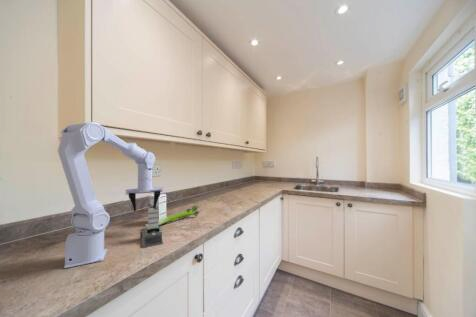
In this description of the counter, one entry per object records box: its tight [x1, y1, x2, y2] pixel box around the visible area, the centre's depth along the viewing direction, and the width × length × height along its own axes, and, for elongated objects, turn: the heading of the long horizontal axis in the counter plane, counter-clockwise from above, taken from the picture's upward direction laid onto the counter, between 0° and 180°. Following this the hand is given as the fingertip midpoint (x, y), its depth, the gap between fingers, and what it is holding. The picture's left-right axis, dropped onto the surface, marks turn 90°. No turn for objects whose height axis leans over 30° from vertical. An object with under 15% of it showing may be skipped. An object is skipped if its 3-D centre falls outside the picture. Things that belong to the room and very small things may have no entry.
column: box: [147, 207, 160, 230], centre depth 75 cm, size 4×4×8 cm
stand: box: [141, 226, 164, 249], centre depth 76 cm, size 7×17×4 cm, turn 28°
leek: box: [143, 205, 200, 229], centre depth 95 cm, size 6×7×30 cm
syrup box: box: [149, 193, 168, 220], centre depth 94 cm, size 6×6×14 cm
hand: (144, 209), depth 81 cm, fingers open, 7 cm apart
